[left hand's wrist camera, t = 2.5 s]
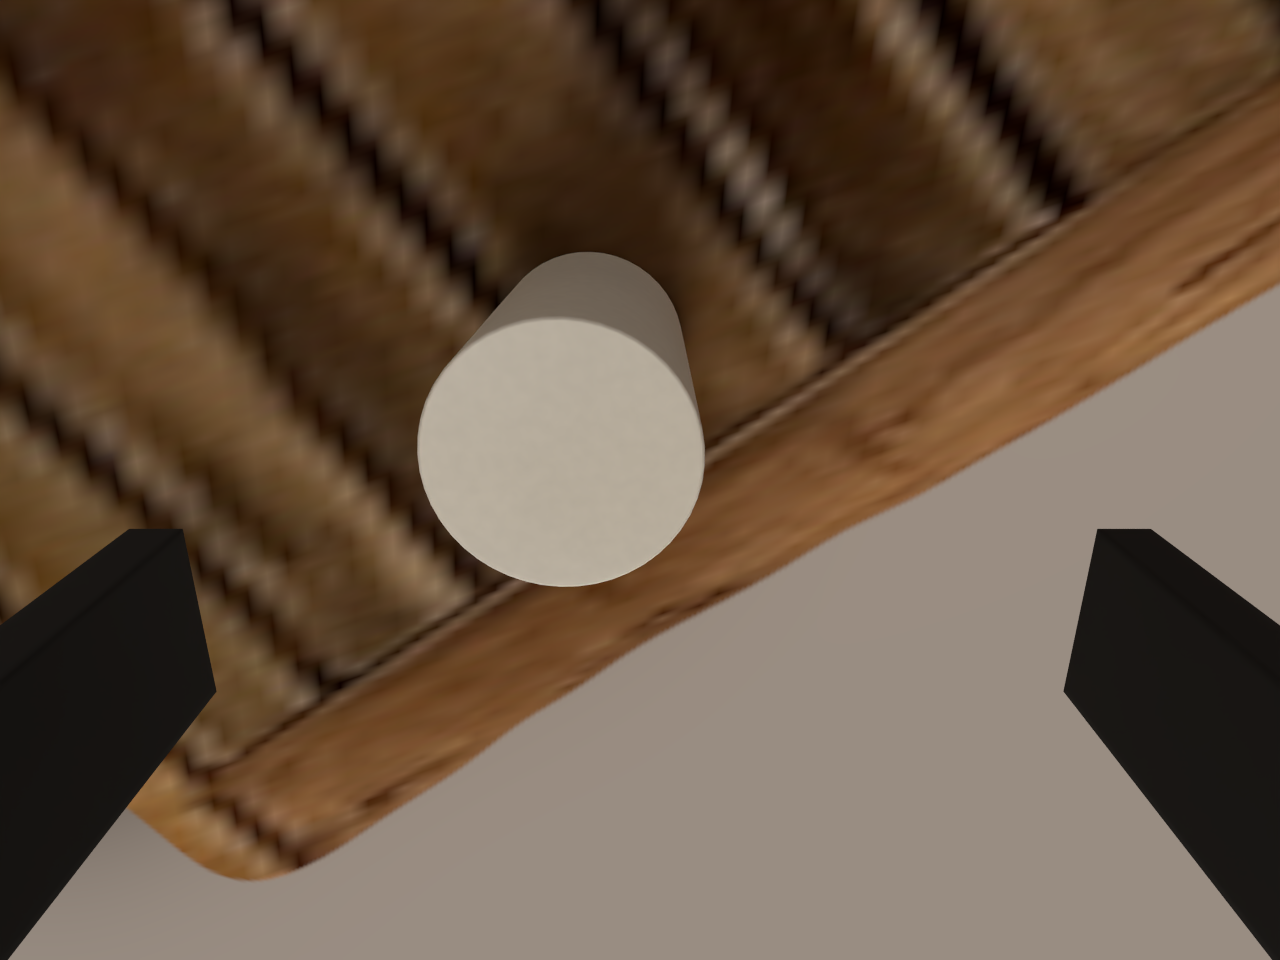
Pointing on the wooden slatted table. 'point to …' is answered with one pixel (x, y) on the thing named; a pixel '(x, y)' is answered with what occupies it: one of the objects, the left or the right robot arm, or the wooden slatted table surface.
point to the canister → (567, 427)
